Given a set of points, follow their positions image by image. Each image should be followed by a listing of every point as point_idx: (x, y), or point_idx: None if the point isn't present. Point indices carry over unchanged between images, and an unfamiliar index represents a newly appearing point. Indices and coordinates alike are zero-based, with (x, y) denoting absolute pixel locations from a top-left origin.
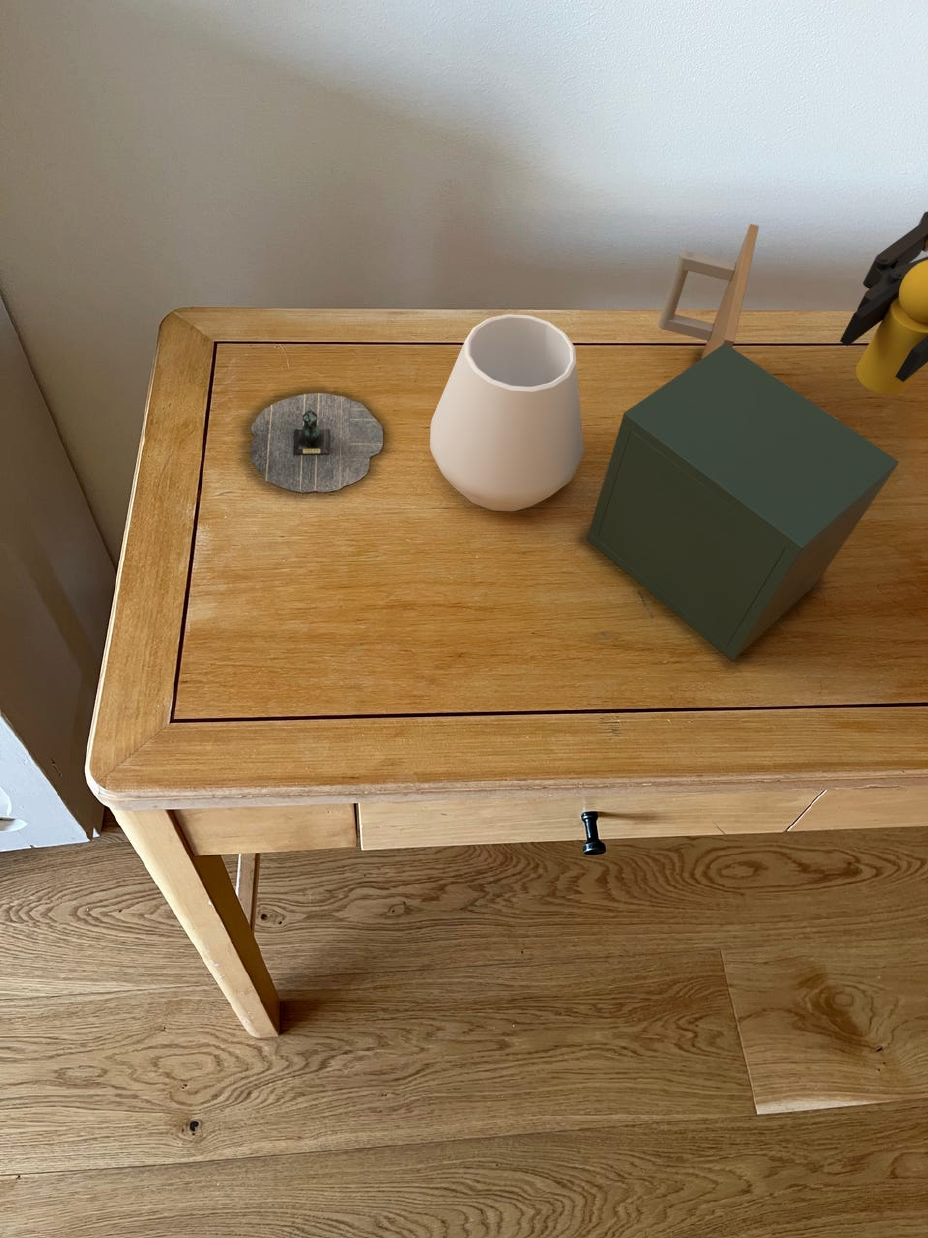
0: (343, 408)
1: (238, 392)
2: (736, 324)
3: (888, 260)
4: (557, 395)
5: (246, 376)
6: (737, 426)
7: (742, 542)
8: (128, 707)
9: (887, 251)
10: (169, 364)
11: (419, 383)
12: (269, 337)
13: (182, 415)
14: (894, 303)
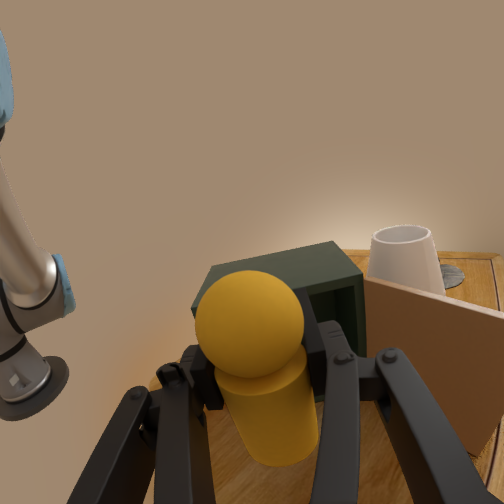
0: (455, 281)
1: (465, 263)
2: (382, 283)
3: (382, 362)
4: (372, 246)
5: (473, 264)
6: (289, 264)
7: None
8: (348, 251)
9: (409, 373)
10: (478, 252)
11: (470, 301)
12: (495, 268)
13: (454, 254)
14: (299, 347)
